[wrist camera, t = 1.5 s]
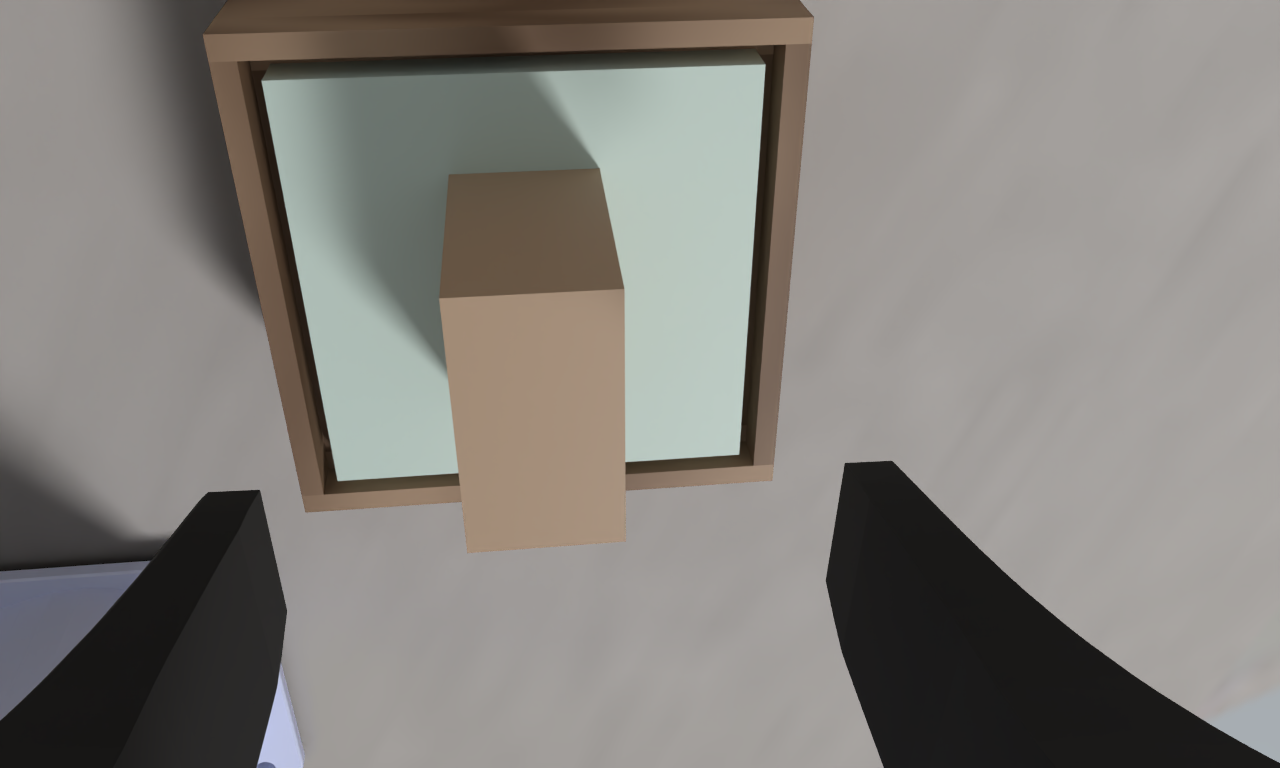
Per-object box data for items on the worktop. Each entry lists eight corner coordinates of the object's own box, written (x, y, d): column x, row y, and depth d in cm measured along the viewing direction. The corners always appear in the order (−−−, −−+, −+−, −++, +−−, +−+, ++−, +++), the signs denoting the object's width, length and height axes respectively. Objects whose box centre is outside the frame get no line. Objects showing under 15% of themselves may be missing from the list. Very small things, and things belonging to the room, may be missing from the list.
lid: (342, 455, 21) (308, 641, 17) (270, 63, 17) (203, 191, 13) (732, 430, 22) (784, 603, 18) (755, 48, 18) (830, 166, 14)
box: (331, 386, 25) (305, 512, 21) (254, -38, 20) (202, 34, 16) (732, 363, 25) (772, 480, 22) (757, -49, 20) (813, 17, 17)
